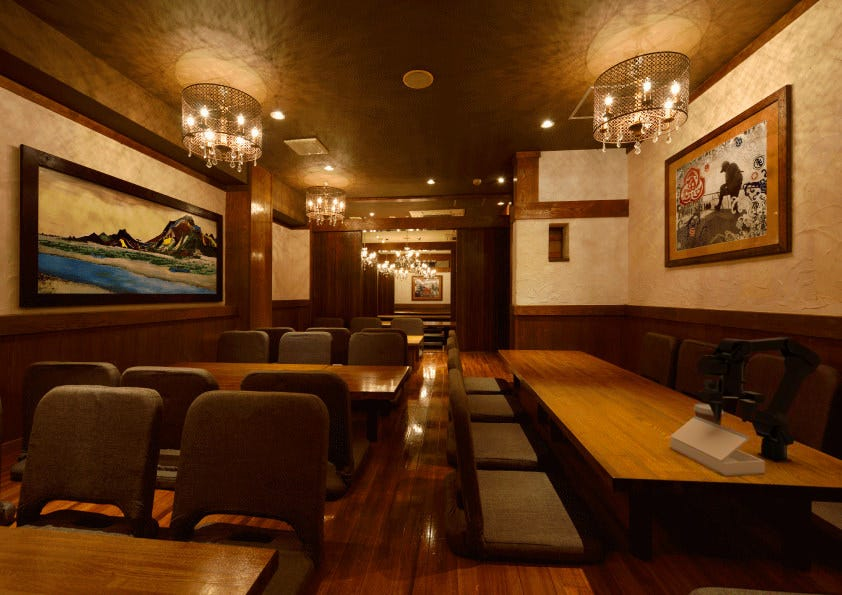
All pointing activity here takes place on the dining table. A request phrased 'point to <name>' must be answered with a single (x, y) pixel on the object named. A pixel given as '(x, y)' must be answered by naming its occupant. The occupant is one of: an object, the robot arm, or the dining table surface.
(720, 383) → the robot arm
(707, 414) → the disposable coffee cup
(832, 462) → the dining table surface
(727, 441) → the flap
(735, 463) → the carton
